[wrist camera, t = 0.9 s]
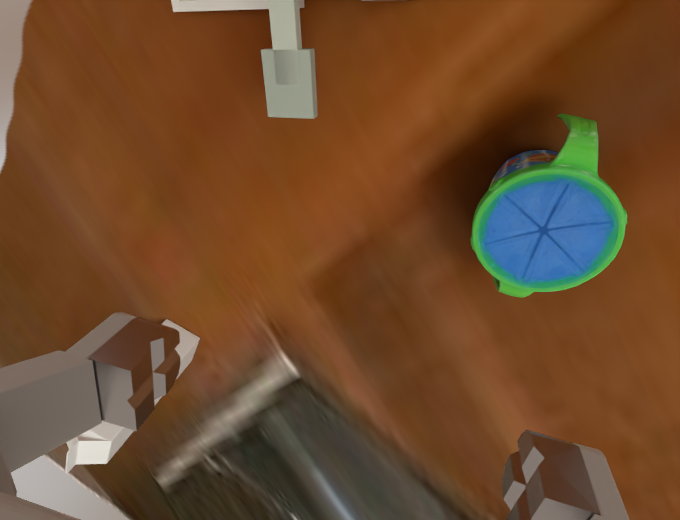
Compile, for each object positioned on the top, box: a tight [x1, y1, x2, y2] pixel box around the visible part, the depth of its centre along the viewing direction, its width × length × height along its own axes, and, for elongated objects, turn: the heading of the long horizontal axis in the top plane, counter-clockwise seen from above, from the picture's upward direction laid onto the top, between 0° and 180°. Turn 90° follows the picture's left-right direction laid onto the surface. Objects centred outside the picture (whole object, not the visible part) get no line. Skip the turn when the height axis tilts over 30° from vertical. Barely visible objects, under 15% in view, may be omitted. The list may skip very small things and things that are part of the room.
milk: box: [65, 319, 200, 474], centre depth 58 cm, size 6×6×22 cm
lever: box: [261, 0, 318, 119], centre depth 28 cm, size 20×16×4 cm
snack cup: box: [470, 114, 627, 297], centre depth 36 cm, size 16×10×10 cm
